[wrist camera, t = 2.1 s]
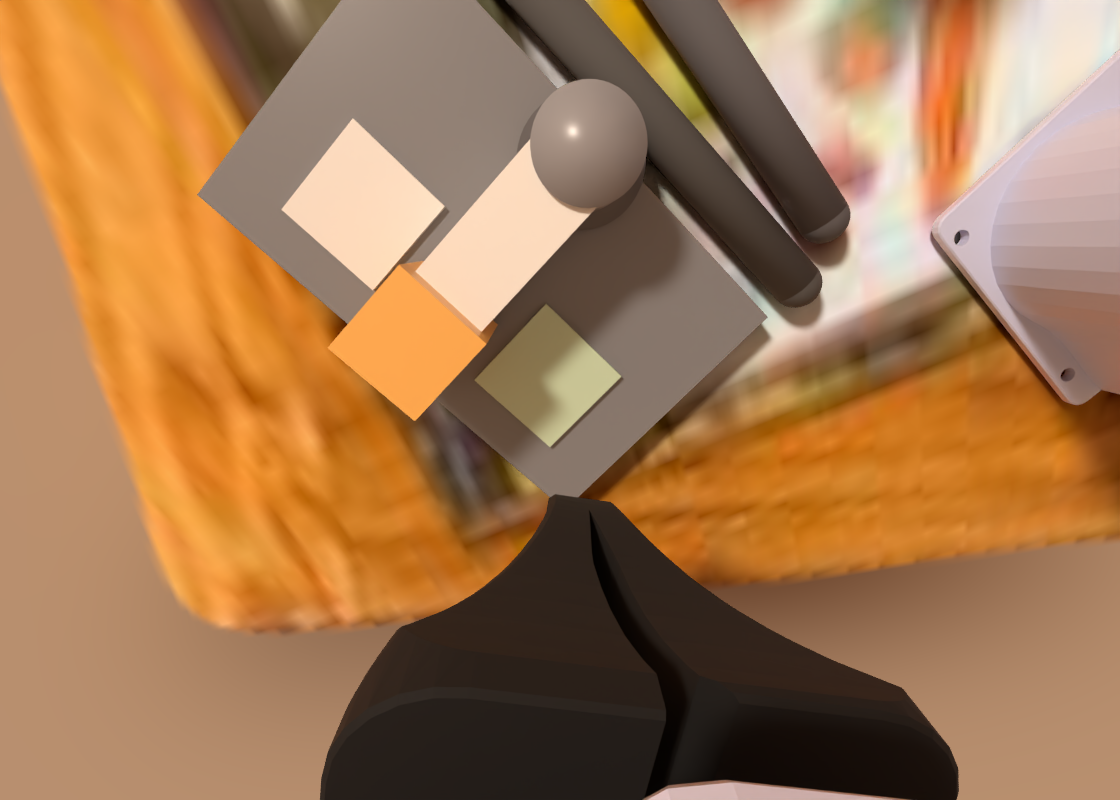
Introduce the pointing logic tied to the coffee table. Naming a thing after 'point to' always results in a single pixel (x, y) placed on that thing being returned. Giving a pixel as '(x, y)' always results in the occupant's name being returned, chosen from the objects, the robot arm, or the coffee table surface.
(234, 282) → the coffee table surface
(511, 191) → the lever
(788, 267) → the dark grey rod
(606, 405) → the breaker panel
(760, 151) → the dark grey rounded rod
